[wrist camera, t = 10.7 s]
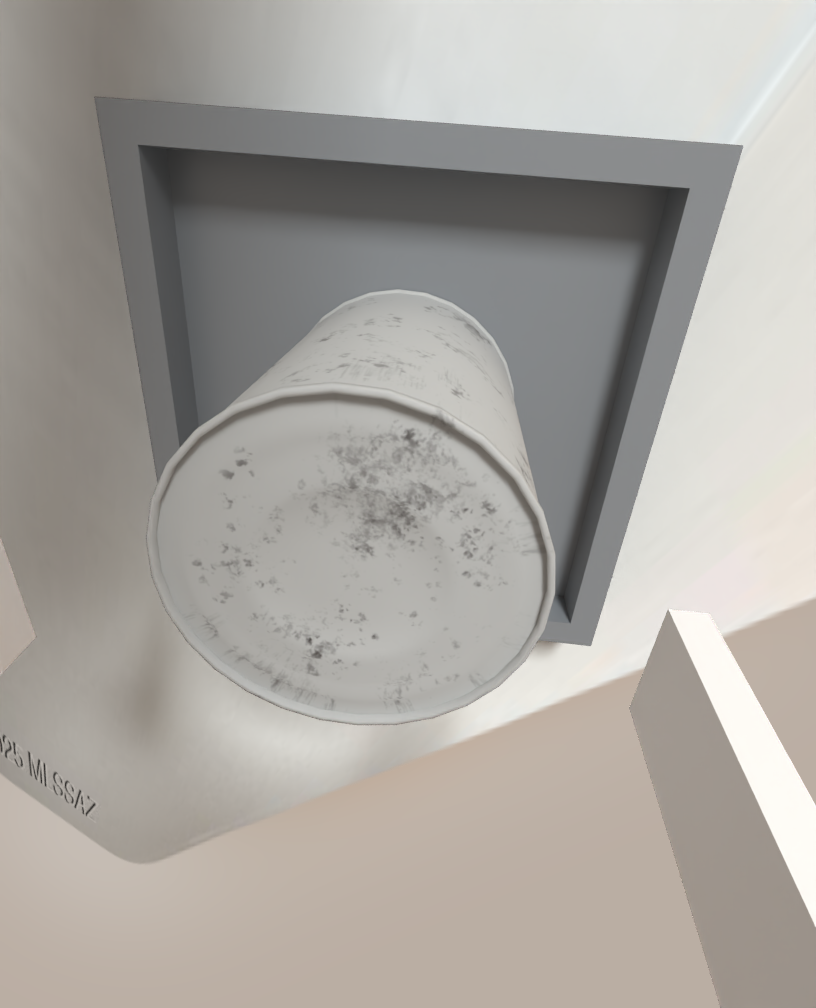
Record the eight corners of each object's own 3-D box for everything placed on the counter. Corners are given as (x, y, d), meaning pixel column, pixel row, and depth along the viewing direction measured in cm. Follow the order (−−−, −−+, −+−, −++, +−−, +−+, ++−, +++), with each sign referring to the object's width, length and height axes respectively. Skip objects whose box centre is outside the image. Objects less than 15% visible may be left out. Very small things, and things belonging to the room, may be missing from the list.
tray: (141, 108, 20) (94, 96, 18) (706, 151, 20) (743, 145, 17) (201, 563, 30) (176, 598, 28) (579, 605, 29) (590, 646, 27)
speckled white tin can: (547, 461, 24) (611, 671, 14) (355, 534, 27) (284, 758, 16) (458, 242, 21) (451, 298, 10) (245, 353, 23) (58, 491, 13)
